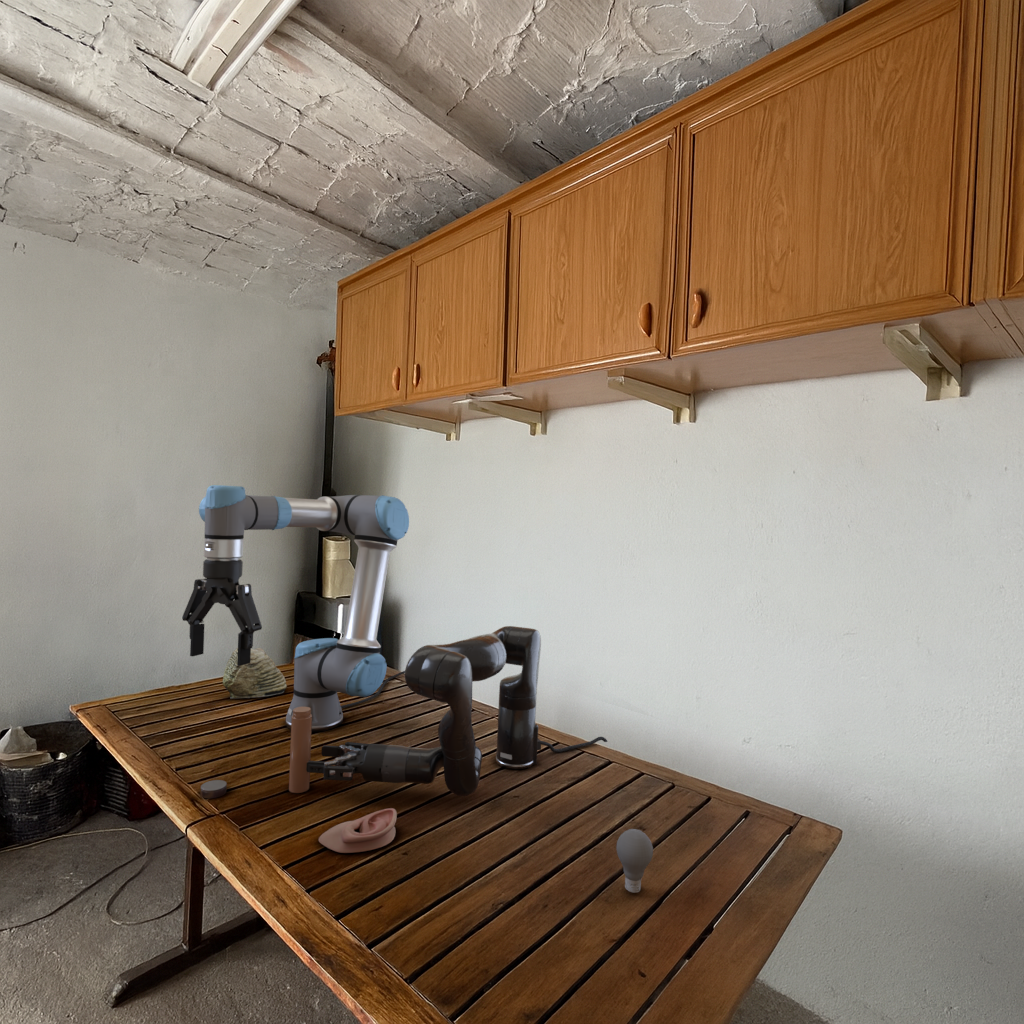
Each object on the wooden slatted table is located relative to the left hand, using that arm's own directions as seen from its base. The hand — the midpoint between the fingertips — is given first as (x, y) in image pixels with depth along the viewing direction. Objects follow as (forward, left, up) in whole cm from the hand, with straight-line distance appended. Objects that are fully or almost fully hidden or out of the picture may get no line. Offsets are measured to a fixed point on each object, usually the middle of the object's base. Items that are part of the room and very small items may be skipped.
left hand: (219, 659), depth 133 cm
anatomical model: (-9, +36, -28) cm, 47 cm away
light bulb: (-30, +82, -28) cm, 92 cm away
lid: (0, 0, -27) cm, 27 cm away
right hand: (-15, +13, -22) cm, 29 cm away
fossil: (-39, -54, -28) cm, 72 cm away
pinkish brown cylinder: (-13, +11, -28) cm, 33 cm away
